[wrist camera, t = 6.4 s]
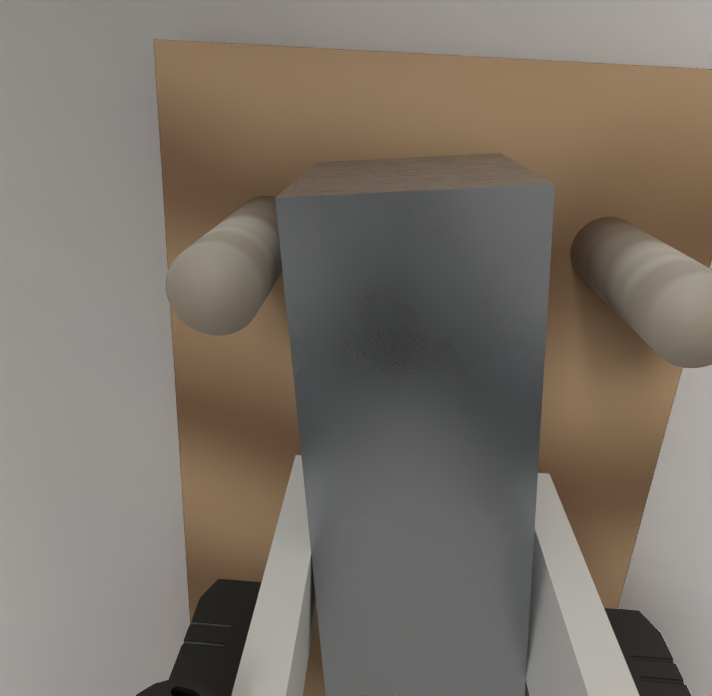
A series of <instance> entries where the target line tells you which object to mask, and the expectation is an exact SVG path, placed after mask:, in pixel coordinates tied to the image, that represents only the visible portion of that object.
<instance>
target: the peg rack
mask: <svg viewBox="0 0 712 696" xmlns="http://www.w3.org/2000/svg"><path fill="white" fill-rule="evenodd" d="M154 54H155V70H156V86H157V102H158V118H159V133H160V149H161V165H162V181H163V197H164V213H165V229H166V244H167V260H168V274H167V279H166V291H167V296H168V300H169V302H170V308H171V324H172V340H173V356H174V371H175V387H176V403H177V419H178V435H179V451H180V467H181V482H182V498H183V514H184V530H185V546H186V562H187V578H188V593H189V609H190V625H191V620H192V617H193V615H194V612H195V609H196V607H197V604H198V602H199V599H200V597H201V596H202V595H203V594H204V593H205V592H206V591H207V590H208V589H209V588H210V587H211V586H212V585H213V584H214V583H215V581H216V580H217V579H229V580H241V581H254V582H262V579H263V575H264V572H265V568H266V564H267V560H268V557H269V553H270V549H271V545H272V542H273V538H274V534H275V531H276V527H277V523H278V519H279V516H280V512H281V508H282V504H283V501H284V497H285V493H286V489H287V486H288V482H289V478H290V474H291V471H292V467H293V463H294V460H295V456H296V455H301V448H300V438H299V428H298V418H297V408H296V398H295V389H294V379H293V369H292V359H291V349H290V339H289V329H288V320H287V310H286V300H285V290H284V280H283V270H282V261H281V251H280V241H279V231H278V221H277V211H276V202H275V197H277V196H278V195H279V194H280V193H281V192H282V191H283V190H284V189H286V188H287V187H288V186H289V185H290V184H291V183H292V182H294V181H295V180H296V179H297V178H298V177H299V176H300V175H301V174H303V173H304V172H305V171H306V170H307V169H308V168H309V167H310V166H312V165H313V164H314V163H316V162H335V161H354V160H373V159H392V158H411V157H430V156H449V155H468V154H487V153H501V154H503V155H505V156H507V157H508V158H510V159H512V160H514V161H515V162H517V163H519V164H521V165H522V166H524V167H526V168H528V169H529V170H531V171H533V172H535V173H536V174H538V175H540V176H542V177H543V178H545V179H547V180H549V181H550V182H552V183H554V184H555V193H554V210H553V227H552V244H551V260H550V277H549V294H548V311H547V328H546V345H545V362H544V379H543V396H542V412H541V429H540V446H539V463H538V473H547V474H550V476H551V479H552V481H553V484H554V486H555V489H556V491H557V493H558V496H559V498H560V501H561V503H562V506H563V508H564V511H565V513H566V516H567V518H568V521H569V523H570V526H571V528H572V530H573V533H574V535H575V538H576V540H577V543H578V545H579V548H580V550H581V553H582V555H583V558H584V560H585V563H586V565H587V567H588V570H589V572H590V575H591V577H592V580H593V582H594V585H595V587H596V590H597V592H598V595H599V597H600V599H601V602H602V604H603V607H604V608H611V609H617V608H618V604H619V600H620V597H621V593H622V589H623V586H624V582H625V578H626V575H627V571H628V567H629V564H630V560H631V556H632V552H633V549H634V545H635V541H636V538H637V534H638V530H639V527H640V523H641V519H642V516H643V512H644V508H645V504H646V501H647V497H648V493H649V490H650V486H651V482H652V479H653V475H654V471H655V468H656V464H657V460H658V456H659V453H660V449H661V445H662V442H663V438H664V434H665V431H666V427H667V423H668V420H669V416H670V412H671V409H672V405H673V401H674V397H675V394H676V390H677V386H678V383H679V379H680V375H681V372H682V368H683V367H684V368H698V367H704V366H708V365H711V364H712V269H710V265H711V261H712V69H697V68H678V67H660V66H641V65H622V64H604V63H585V62H567V61H548V60H530V59H511V58H492V57H474V56H455V55H437V54H418V53H400V52H381V51H362V50H344V49H325V48H307V47H288V46H270V45H251V44H232V43H214V42H195V41H177V40H158V39H154ZM303 696H326V694H325V684H324V674H323V664H322V654H321V644H320V634H319V625H318V615H317V605H316V610H315V617H314V623H313V630H312V637H311V643H310V650H309V657H308V663H307V670H306V677H305V684H304V690H303ZM525 696H529V692H528V688H527V683H525Z"/></svg>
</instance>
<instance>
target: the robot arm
mask: <svg viewBox="0 0 712 696" xmlns="http://www.w3.org/2000/svg"><path fill="white" fill-rule="evenodd" d="M315 610H316V595H315V585H314V575H313V566H312V556H311V546H310V536H309V526H308V516H307V507H306V497H305V487H304V477H303V467H302V457H301V455H296V456H295V460H294V463H293V467H292V471H291V474H290V478H289V482H288V486H287V489H286V493H285V497H284V501H283V504H282V508H281V512H280V516H279V519H278V523H277V527H276V531H275V534H274V538H273V542H272V545H271V549H270V553H269V557H268V560H267V564H266V568H265V572H264V575H263V579H262V582H254V581H241V580H229V579H217V580H216V581H215V583H214V584H213V585H212V586H211V587H210V588H209V589H208V590H207V591H206V592H205V593H204V594H203V595H202V596H201V597H200V599H199V602H198V604H197V607H196V609H195V612H194V615H193V617H192V620H191V625H189V628H188V630H187V633H186V636H185V638H184V643H183V645H182V646H181V649H180V651H179V654H178V657H177V659H176V662H175V665H174V667H173V670H172V672H171V675H170V678H169V680H167V681H163V682H160V683H156V684H153V685H152V686H150V687H148V688H147V689H145V690H143V691H142V692H140V693H139V694H137V695H136V696H303V690H304V684H305V677H306V670H307V663H308V657H309V650H310V643H311V637H312V630H313V623H314V617H315ZM526 683H527V688H528V692H529V696H691V695H690V692H689V690H688V688H687V686H686V685H684V684H683V678H682V676H681V674H680V672H679V670H678V668H677V666H676V664H673V658H672V656H671V654H670V652H669V650H668V648H667V646H666V644H665V642H664V639H663V637H662V635H661V633H660V632H659V631H658V630H657V629H656V628H655V627H654V626H653V625H652V624H651V623H650V622H649V621H648V620H647V619H646V618H645V617H644V616H643V615H642V614H641V613H640V612H639V611H635V610H623V609H611V608H604V607H603V604H602V602H601V599H600V597H599V595H598V592H597V590H596V587H595V585H594V582H593V580H592V577H591V575H590V572H589V570H588V567H587V565H586V563H585V560H584V558H583V555H582V553H581V550H580V548H579V545H578V543H577V540H576V538H575V535H574V533H573V530H572V528H571V526H570V523H569V521H568V518H567V516H566V513H565V511H564V508H563V506H562V503H561V501H560V498H559V496H558V493H557V491H556V489H555V486H554V484H553V481H552V479H551V476H550V474H547V473H538V480H537V497H536V514H535V531H534V548H533V565H532V581H531V598H530V615H529V632H528V649H527V666H526Z"/></svg>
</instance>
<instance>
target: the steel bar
mask: <svg viewBox="0 0 712 696" xmlns="http://www.w3.org/2000/svg"><path fill="white" fill-rule="evenodd" d="M554 193H555V184H554V183H552V182H550V181H549V180H547V179H545V178H543V177H542V176H540V175H538V174H536V173H535V172H533V171H531V170H529V169H528V168H526V167H524V166H522V165H521V164H519V163H517V162H515V161H514V160H512V159H510V158H508V157H507V156H505V155H503V154H501V153H487V154H468V155H449V156H430V157H411V158H392V159H373V160H354V161H335V162H316V163H314V164H313V165H312V166H310V167H309V168H308V169H307V170H306V171H305V172H304V173H303V174H301V175H300V176H299V177H298V178H297V179H296V180H295V181H294V182H292V183H291V184H290V185H289V186H288V187H287V188H286V189H284V190H283V191H282V192H281V193H280V194H279V195H278V196H277V197H275V202H276V211H277V221H278V231H279V241H280V251H281V261H282V270H283V280H284V290H285V300H286V310H287V320H288V329H289V339H290V349H291V359H292V369H293V379H294V389H295V398H296V408H297V418H298V428H299V438H300V448H301V457H302V467H303V477H304V487H305V497H306V507H307V516H308V526H309V536H310V546H311V556H312V566H313V575H314V585H315V595H316V605H317V615H318V625H319V634H320V644H321V654H322V664H323V674H324V684H325V694H326V696H525V683H526V666H527V649H528V632H529V615H530V598H531V581H532V565H533V548H534V531H535V514H536V497H537V480H538V463H539V446H540V429H541V412H542V396H543V379H544V362H545V345H546V328H547V311H548V294H549V277H550V260H551V244H552V227H553V210H554Z"/></svg>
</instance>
